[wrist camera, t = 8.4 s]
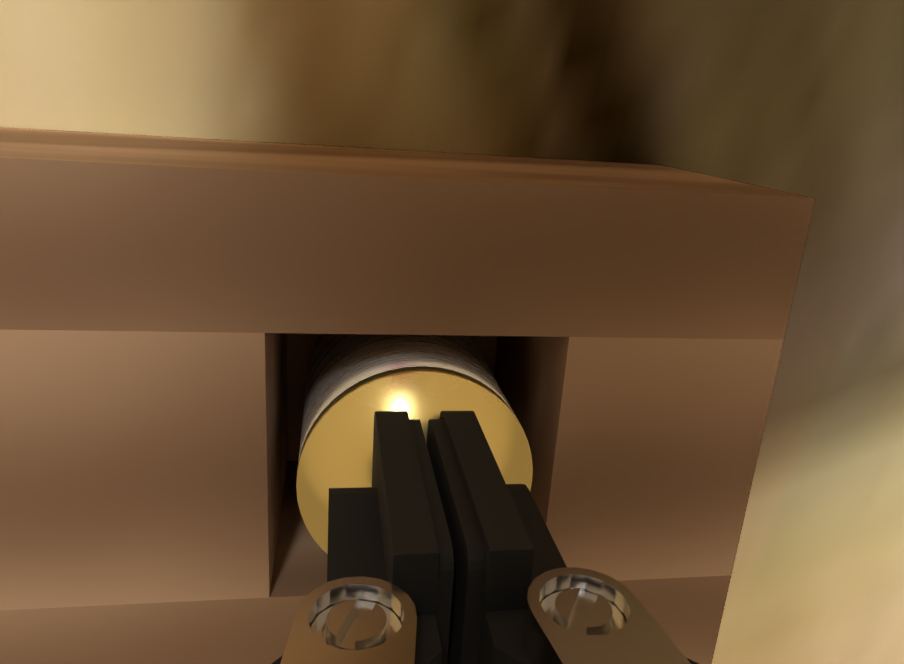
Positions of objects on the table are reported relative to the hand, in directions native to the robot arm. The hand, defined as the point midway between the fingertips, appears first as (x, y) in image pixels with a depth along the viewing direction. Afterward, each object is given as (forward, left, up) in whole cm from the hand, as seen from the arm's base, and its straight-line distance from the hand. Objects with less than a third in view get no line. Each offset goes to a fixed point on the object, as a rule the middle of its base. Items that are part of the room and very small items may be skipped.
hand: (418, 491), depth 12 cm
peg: (0, 0, -5) cm, 5 cm away
